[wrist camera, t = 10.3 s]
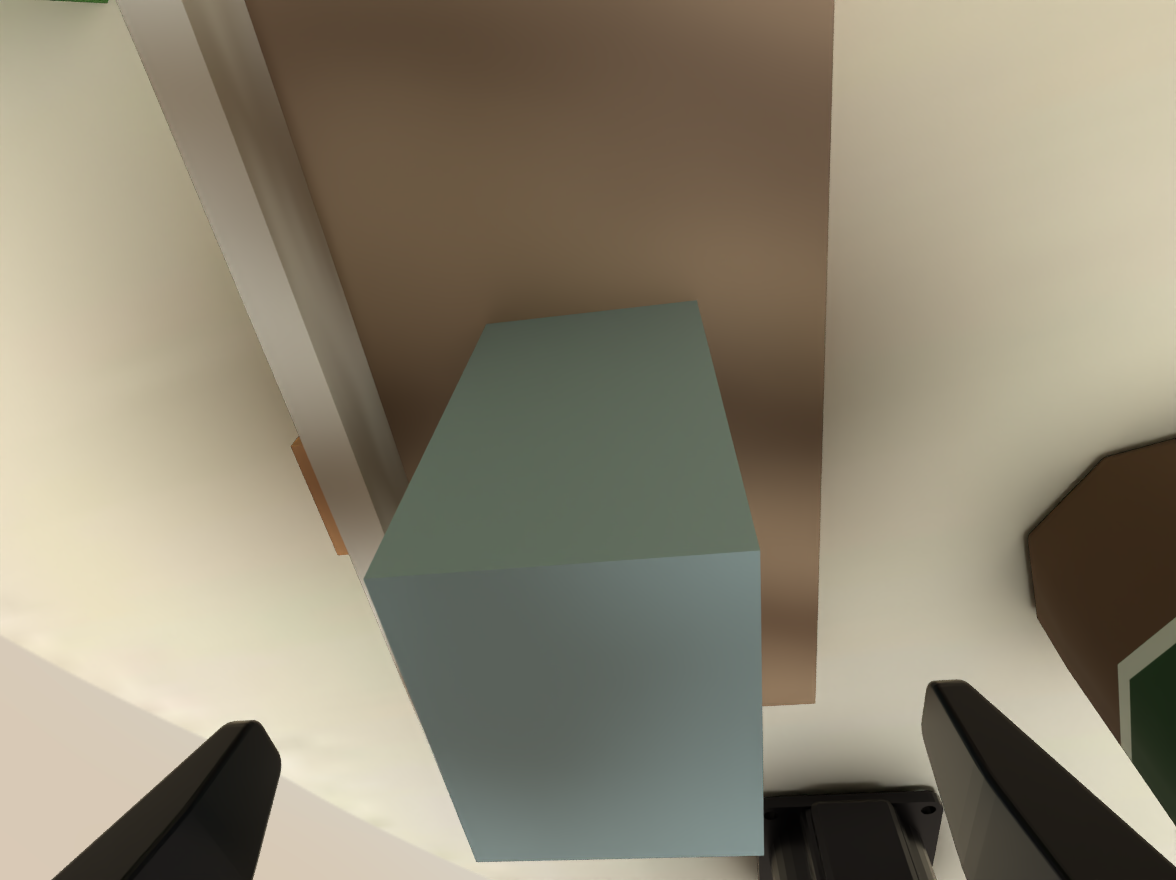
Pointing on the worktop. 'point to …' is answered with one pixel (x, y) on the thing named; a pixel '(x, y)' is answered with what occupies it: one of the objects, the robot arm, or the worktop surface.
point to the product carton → (584, 595)
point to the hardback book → (92, 0)
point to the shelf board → (517, 221)
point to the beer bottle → (1118, 601)
